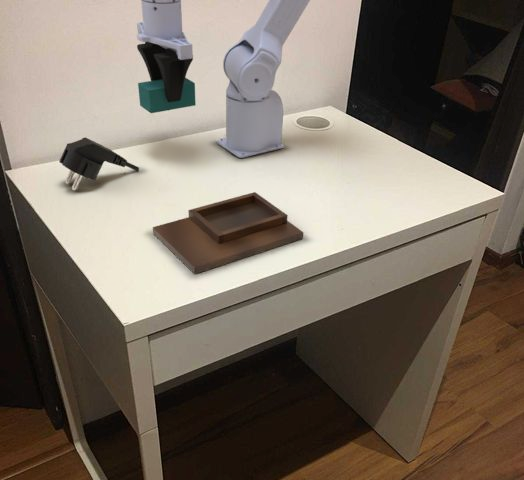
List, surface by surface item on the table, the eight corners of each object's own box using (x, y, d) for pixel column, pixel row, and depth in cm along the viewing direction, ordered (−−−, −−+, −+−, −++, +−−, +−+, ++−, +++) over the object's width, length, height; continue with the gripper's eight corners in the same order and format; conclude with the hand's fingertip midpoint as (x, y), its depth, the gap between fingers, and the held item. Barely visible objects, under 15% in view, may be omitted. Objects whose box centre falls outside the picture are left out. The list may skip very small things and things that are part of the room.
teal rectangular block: (184, 98, 97) (183, 75, 95) (195, 105, 95) (194, 82, 93) (140, 105, 94) (137, 82, 92) (150, 113, 91) (148, 90, 89)
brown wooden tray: (256, 204, 87) (256, 190, 85) (303, 238, 80) (304, 224, 78) (152, 233, 79) (151, 219, 78) (194, 274, 72) (193, 259, 71)
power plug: (148, 170, 92) (82, 139, 83) (127, 213, 94) (60, 187, 85) (131, 158, 95) (66, 126, 86) (111, 199, 97) (46, 173, 88)
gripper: (115, -9, 87) (125, 86, 96) (158, 12, 78) (165, 114, 87) (157, -12, 90) (164, 80, 99) (204, 7, 81) (206, 107, 90)
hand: (167, 96), depth 93 cm, fingers closed on teal rectangular block, 4 cm apart
